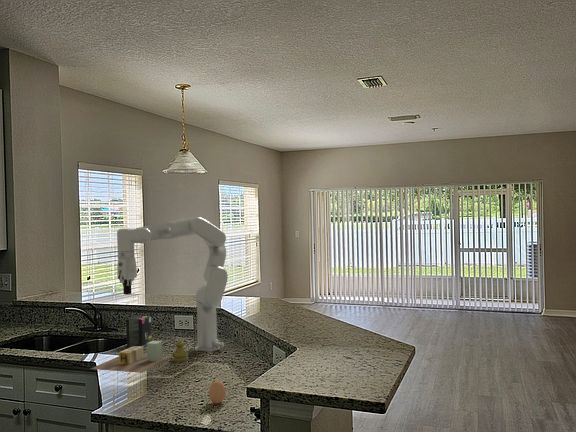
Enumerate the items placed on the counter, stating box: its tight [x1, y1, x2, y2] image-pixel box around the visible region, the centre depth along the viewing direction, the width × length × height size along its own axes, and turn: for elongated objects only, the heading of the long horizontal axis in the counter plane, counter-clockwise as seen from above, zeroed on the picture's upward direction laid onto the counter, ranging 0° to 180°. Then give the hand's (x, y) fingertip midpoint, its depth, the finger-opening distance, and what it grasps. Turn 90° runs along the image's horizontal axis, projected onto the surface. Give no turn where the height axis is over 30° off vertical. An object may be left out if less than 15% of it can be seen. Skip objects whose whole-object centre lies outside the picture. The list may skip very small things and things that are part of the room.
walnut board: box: [89, 353, 173, 374], centre depth 241 cm, size 26×28×1 cm
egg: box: [208, 380, 227, 404], centre depth 189 cm, size 6×6×8 cm
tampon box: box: [125, 315, 153, 348], centre depth 279 cm, size 11×9×15 cm
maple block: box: [118, 346, 145, 364], centre depth 244 cm, size 5×5×12 cm
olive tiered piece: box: [171, 340, 190, 363], centre depth 243 cm, size 7×8×10 cm
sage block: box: [146, 340, 163, 361], centre depth 245 cm, size 5×5×8 cm
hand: (127, 294), depth 251 cm, fingers closed
